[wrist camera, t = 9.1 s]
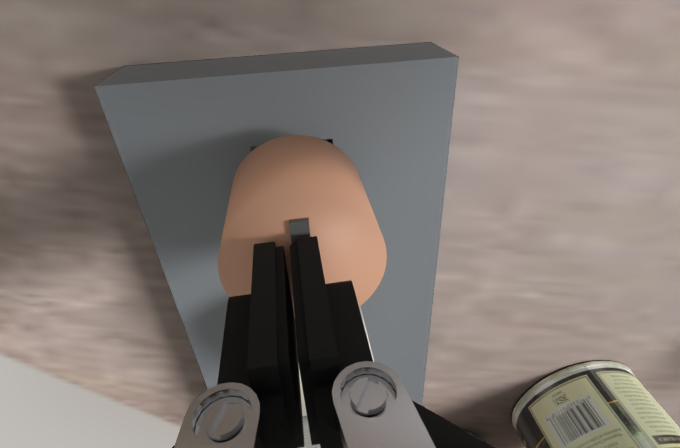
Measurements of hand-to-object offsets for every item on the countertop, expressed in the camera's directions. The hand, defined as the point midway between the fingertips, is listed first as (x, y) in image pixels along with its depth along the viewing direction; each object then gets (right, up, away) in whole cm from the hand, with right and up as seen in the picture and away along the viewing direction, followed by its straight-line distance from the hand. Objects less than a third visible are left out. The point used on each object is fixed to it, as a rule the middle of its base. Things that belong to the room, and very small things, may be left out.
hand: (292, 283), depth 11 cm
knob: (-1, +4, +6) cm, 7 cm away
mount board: (0, -1, +11) cm, 11 cm away
